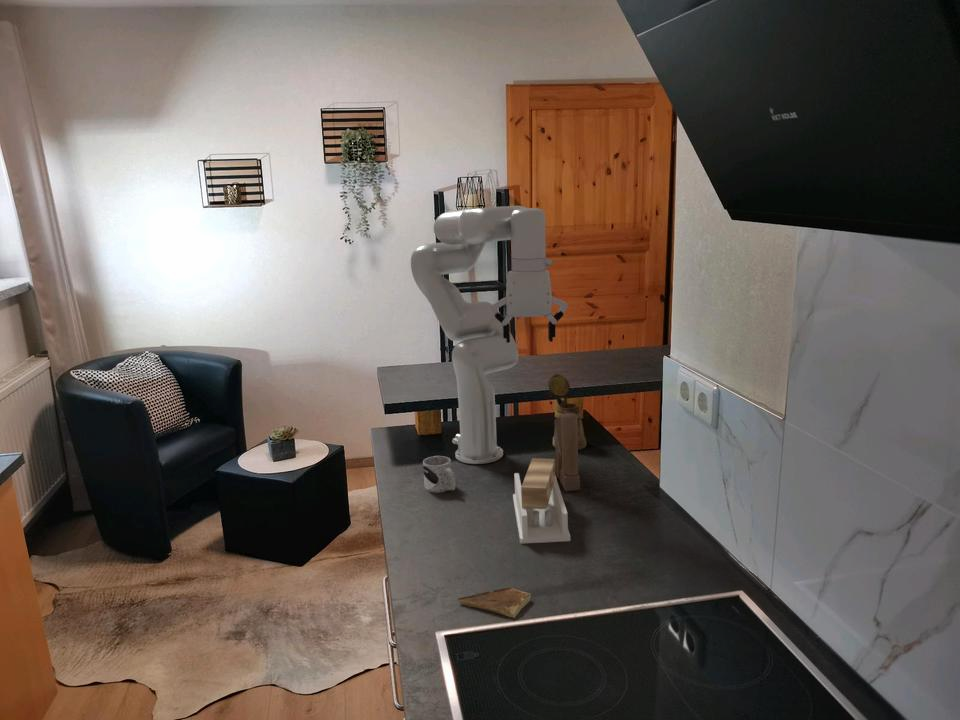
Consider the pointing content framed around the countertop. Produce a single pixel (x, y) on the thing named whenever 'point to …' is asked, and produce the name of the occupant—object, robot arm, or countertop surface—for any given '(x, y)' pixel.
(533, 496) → the wooden bar
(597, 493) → the countertop surface
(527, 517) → the peg stand
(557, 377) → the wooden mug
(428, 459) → the mug
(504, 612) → the shard
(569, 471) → the wooden block
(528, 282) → the robot arm
